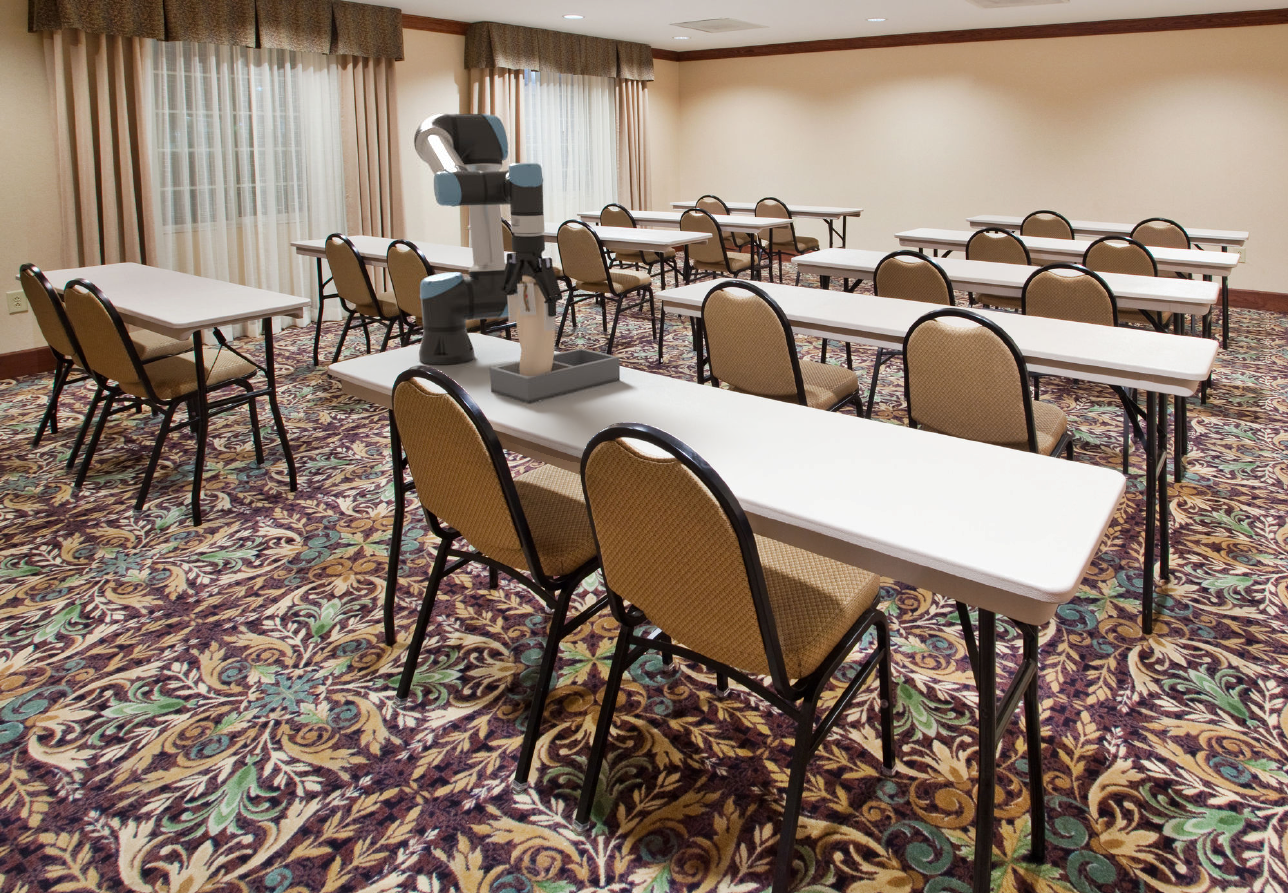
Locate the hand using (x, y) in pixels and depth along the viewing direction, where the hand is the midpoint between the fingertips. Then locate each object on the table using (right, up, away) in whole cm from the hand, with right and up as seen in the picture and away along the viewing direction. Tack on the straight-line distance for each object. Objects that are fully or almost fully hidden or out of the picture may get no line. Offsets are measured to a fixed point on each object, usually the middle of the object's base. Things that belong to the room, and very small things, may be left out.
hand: (531, 325), depth 201 cm
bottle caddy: (+5, -13, +10) cm, 18 cm away
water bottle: (+1, -14, +5) cm, 15 cm away
